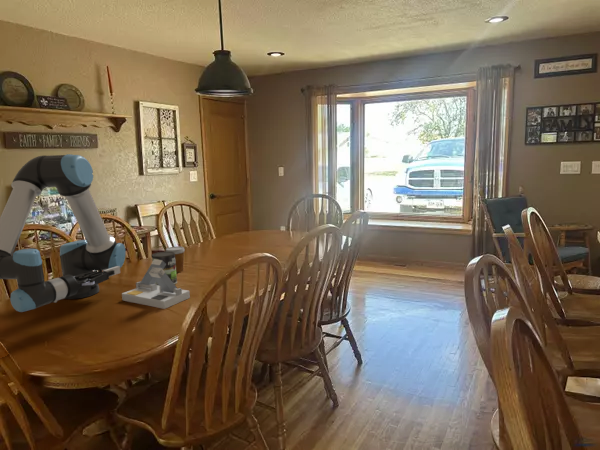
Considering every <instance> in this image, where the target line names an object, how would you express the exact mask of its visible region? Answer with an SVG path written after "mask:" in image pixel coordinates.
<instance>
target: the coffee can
mask: <svg viewBox="0 0 600 450" xmlns="http://www.w3.org/2000/svg"><path fill="white" fill-rule="evenodd" d="M151 258H152V259H151V260H152V261H151V263H152V262H153V260H154V259H155V260H162V261H164V262H165V263H166V265H165V267H164V269H163V270H164V272H165V273H166V274H167V276H168V277H169V278H170V279H171V281H172V282H173V283H174V285H176V284H178V275H177V273H176V262H175V252H169V251H168V252H165V251H159V252H154V253H152V254H151ZM155 284H157V282H156V283H155ZM157 285H158V284H157ZM158 286H159V285H158Z"/></svg>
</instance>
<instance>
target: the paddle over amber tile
mask: <svg viewBox="0 0 600 450" xmlns="http://www.w3.org/2000/svg"><path fill="white" fill-rule="evenodd" d="M165 265H166V263H165V262H164V261H162V260H155V259H154V260H153V262H152V261H151V264H150V266H149V267H148V269H147V271H146V272H145V274H144V276H143V277H142V279H141V280H140V281H141V282H140V281H139V282H140V283H139V286H140V287H145V288H151V287H150V285H153V284H155V283H156V281H155V280H154V279H153V277H152V276H151V275H150V274H149V272H150V270H151V269H152V268H153V267H155V268H162V269H164V267H165Z"/></svg>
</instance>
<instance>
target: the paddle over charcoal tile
mask: <svg viewBox="0 0 600 450" xmlns="http://www.w3.org/2000/svg"><path fill="white" fill-rule="evenodd" d="M149 274H150V275H151V276H152V277H153V279H154V280H155V281H156V282H157V284H158V285H159V286H160V287H161V288H162V290H163V291H164V292H169V293H175V289H178V288H177V286H176V284H174V283H173V282H172V281H171V279H170V278H169V277H168V276H167V274H166V273H165V272H164V270H163V269H162V268H155V267H153V268H152V269H151V270H150V272H149Z"/></svg>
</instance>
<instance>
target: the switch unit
mask: <svg viewBox="0 0 600 450" xmlns="http://www.w3.org/2000/svg"><path fill="white" fill-rule="evenodd" d="M141 281H142V280H140V281H137V282H135V288H133V289H130V290H128V291H125V292H122V293H121V297H122V298H121V299H122V301H125V302H128V303H135V304H138V305H144V306H149V307H154V308H158V309H163V310H165V309H167V308H170V307H173V306H174V305H176V304H179V303H181V302H183V301H187V300H188V299H190V298H191V296H190V295H191V294H190V290H187V289H182V288H181V287H179V288H177V289H175V293H169V292H164V291H163V290H162V288H161V287H160V286H158V285H157V284H153V285H150V287H151V288H145V287H140V286H139V283H140V282H141Z"/></svg>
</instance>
